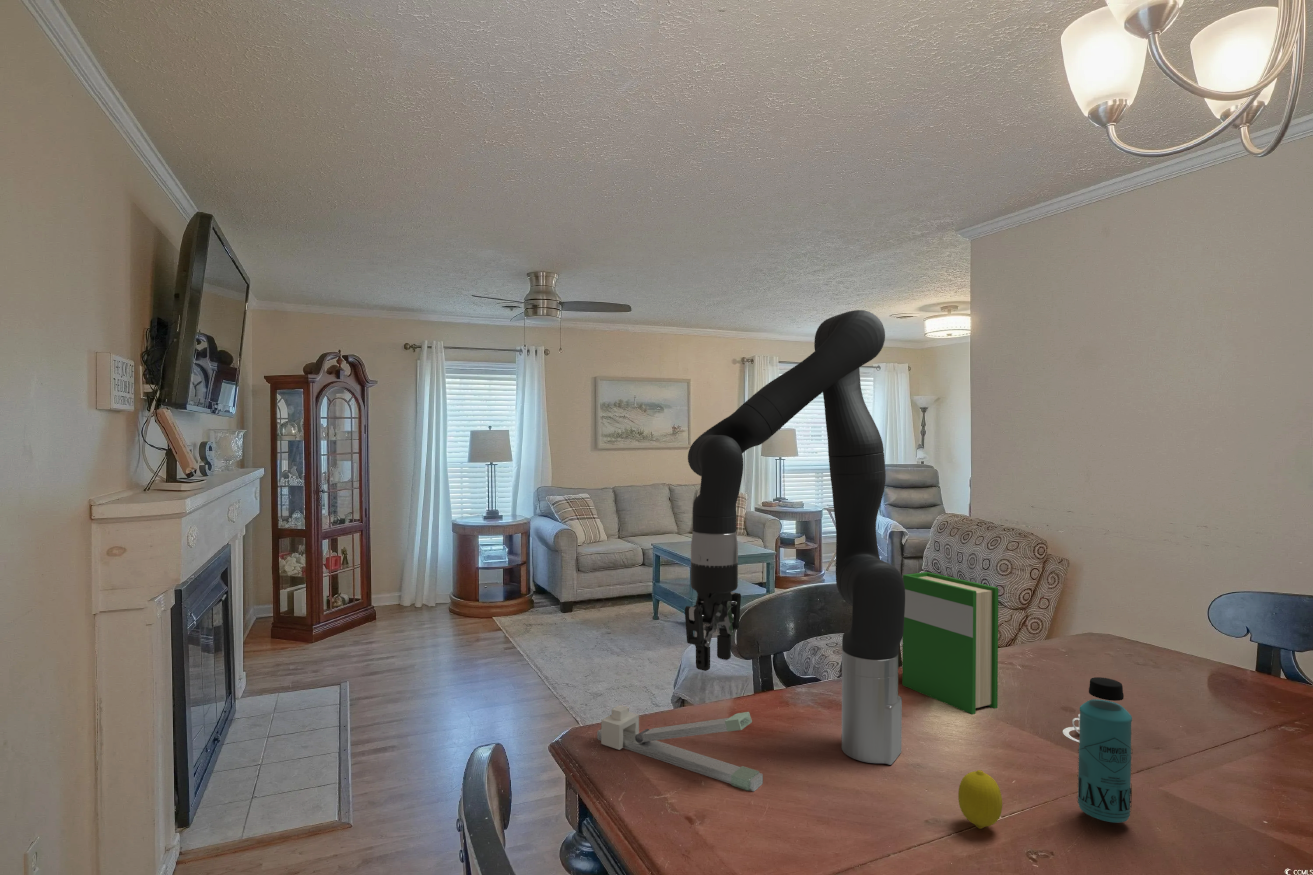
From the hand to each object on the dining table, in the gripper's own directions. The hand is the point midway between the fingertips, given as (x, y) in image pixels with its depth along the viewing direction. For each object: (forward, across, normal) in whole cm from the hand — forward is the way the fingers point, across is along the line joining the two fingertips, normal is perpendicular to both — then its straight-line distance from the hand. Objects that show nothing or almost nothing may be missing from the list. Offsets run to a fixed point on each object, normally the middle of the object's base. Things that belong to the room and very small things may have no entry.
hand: (713, 663), depth 112 cm
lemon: (+18, +8, -38) cm, 43 cm away
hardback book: (+18, +57, -23) cm, 64 cm away
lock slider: (+17, 0, +19) cm, 26 cm away
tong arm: (+12, 0, +3) cm, 12 cm away
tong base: (+18, 0, +7) cm, 19 cm away
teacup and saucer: (+18, +50, -51) cm, 74 cm away
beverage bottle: (+18, +20, -52) cm, 59 cm away
